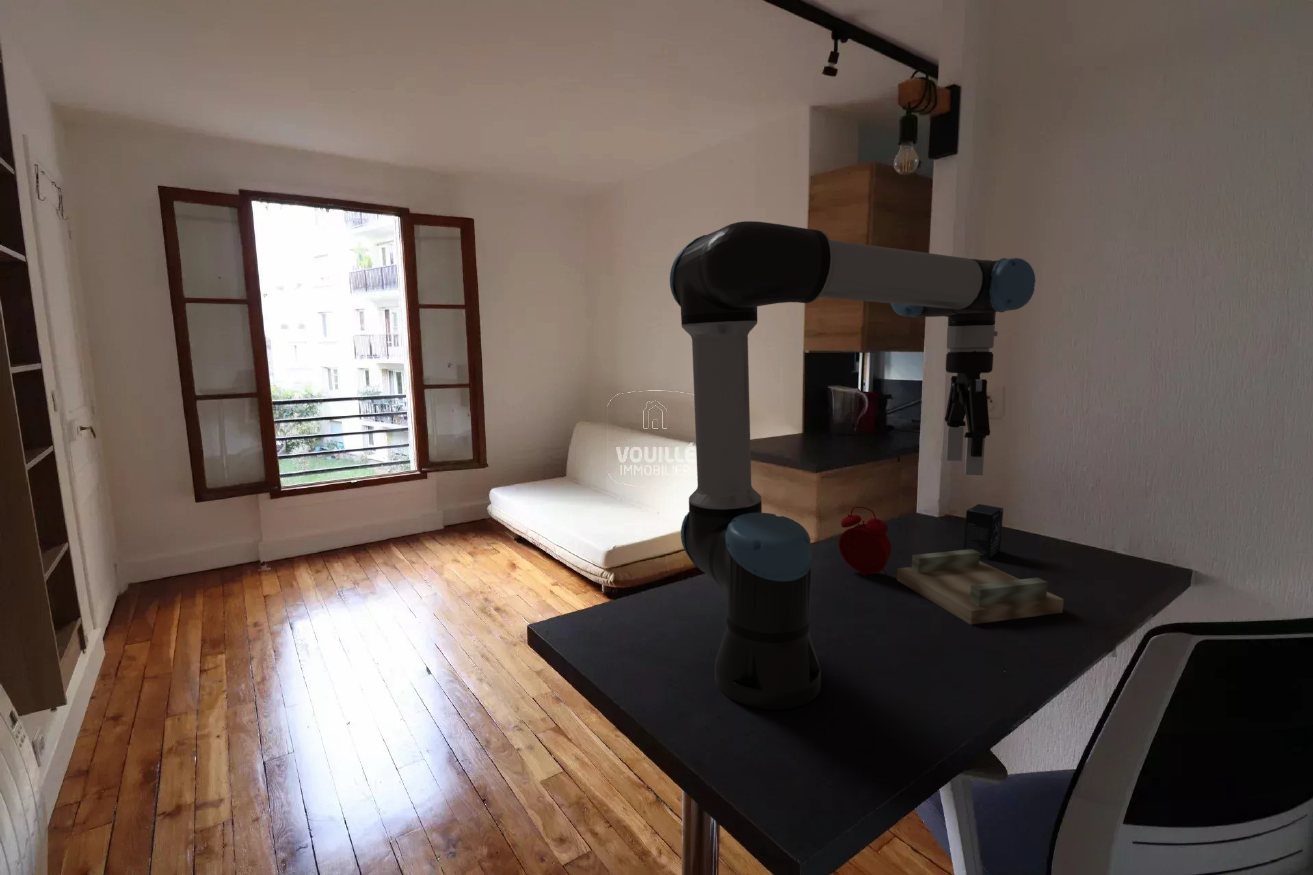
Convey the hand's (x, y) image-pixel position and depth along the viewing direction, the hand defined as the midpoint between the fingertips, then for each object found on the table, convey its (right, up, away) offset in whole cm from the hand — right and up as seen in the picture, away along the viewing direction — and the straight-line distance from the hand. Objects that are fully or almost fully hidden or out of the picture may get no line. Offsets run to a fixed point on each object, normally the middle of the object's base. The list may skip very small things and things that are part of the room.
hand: (963, 467), depth 112 cm
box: (+18, -21, +28) cm, 40 cm away
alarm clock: (-13, -23, +16) cm, 31 cm away
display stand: (+4, -25, +4) cm, 25 cm away
